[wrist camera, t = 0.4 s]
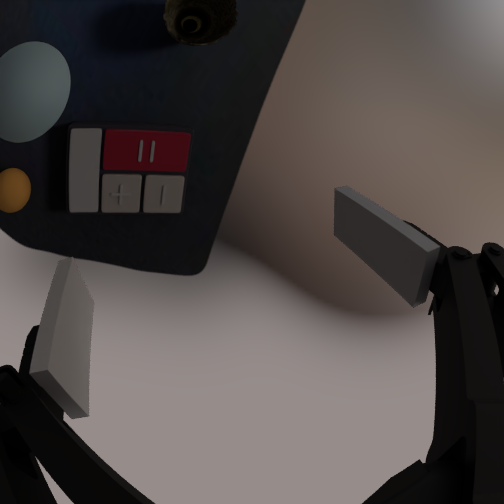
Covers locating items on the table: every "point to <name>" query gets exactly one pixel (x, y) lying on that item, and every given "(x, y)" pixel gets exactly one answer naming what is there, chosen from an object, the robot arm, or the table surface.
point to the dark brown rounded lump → (200, 20)
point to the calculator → (127, 167)
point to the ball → (14, 190)
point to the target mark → (31, 90)
